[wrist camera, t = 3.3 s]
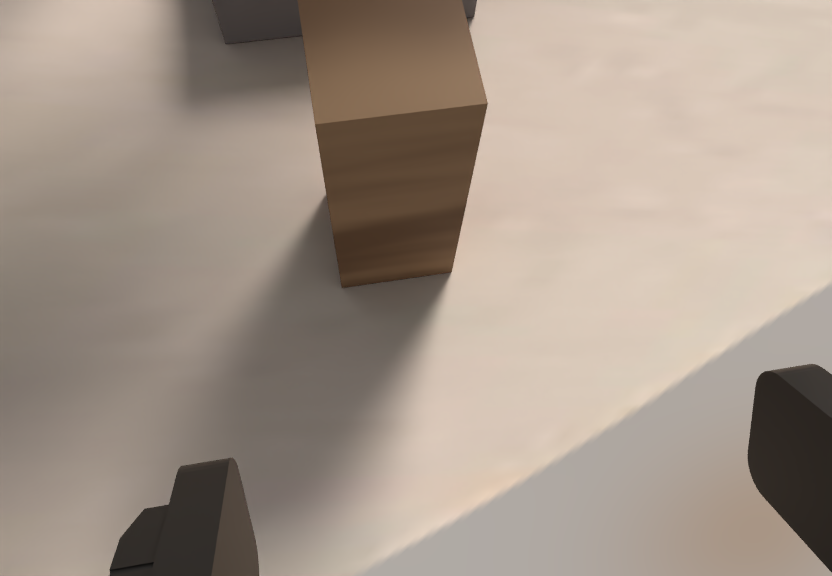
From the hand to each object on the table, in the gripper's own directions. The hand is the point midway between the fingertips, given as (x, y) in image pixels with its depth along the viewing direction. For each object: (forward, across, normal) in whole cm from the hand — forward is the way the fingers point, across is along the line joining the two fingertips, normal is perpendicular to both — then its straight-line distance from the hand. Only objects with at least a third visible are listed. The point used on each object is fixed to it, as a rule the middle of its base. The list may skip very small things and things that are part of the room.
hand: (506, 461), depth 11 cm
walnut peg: (+19, 0, +2) cm, 19 cm away
